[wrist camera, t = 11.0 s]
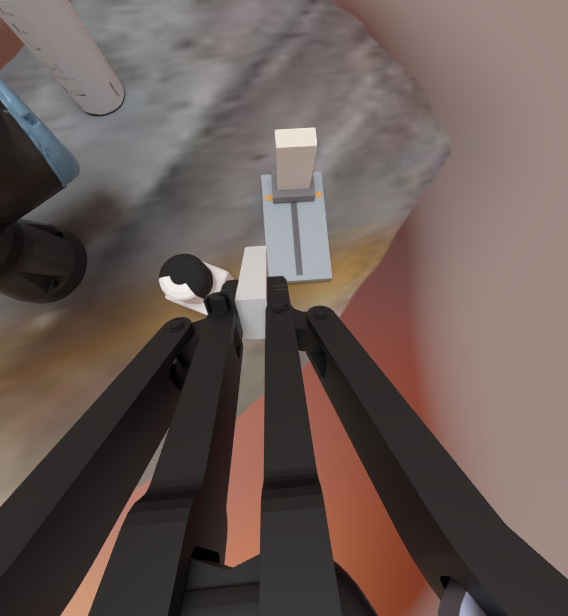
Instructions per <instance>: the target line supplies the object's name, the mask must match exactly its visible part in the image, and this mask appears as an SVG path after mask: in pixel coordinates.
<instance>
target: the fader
mask: <svg viewBox="0 0 568 616" xmlns="http://www.w3.org/2000/svg"><path fill="white" fill-rule="evenodd" d="M275 148H276V169H271V179H272V193H273V203H281V202H297V201H313V200H314V199H315V187H314V177H313V166H314V160H315V155H316V149H317V139H316V130H315V128H299V129H282V130H275Z"/></svg>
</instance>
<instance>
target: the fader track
mask: <svg viewBox="0 0 568 616" xmlns="http://www.w3.org/2000/svg"><path fill="white" fill-rule="evenodd" d="M313 177H314V187H315V199H314V200H313V201H297V202H281V203H273V193H272V179H271V175H261V180H262V196H263V211H264V227H265V243H266V250H267V260H268V270H269V277H272V276H284V277H285V279H286V280H287V284H292V283H307V282H321V281H330V280H331V279H332V272H331V263H330V253H329V243H328V234H327V224H326V215H325V205H324V195H323V186H322V176H321V172H313Z"/></svg>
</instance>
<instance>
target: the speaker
mask: <svg viewBox="0 0 568 616" xmlns="http://www.w3.org/2000/svg"><path fill="white" fill-rule="evenodd" d="M0 16H1V18H2V19H3V20H4V21H5V22H6V23H7V24H8V26H9V27H10V28H11V29H12V30H13V31H14V32H15V33H16V35H17V36H18V37H19V38H20V39H21V40H22V42H23V43H24V44H25V45H26V46H27V47H28V48H29V50H30V51H31V52H32V53H33V54H34V55H35V56H36V57H37V59H38V60H39V61H40V62H41V63H42V64H43V65H44V67H45V68H46V69H47V70H48V71H49V72H50V73H51V75H52V76H53V77H54V78H55V79H56V80H57V81H58V83H59V84H60V85H61V86H62V87H63V88H64V89H65V90H66V92H67V93H68V94H69V95H70V96H71V97H72V98H73V100H74V101H75V102H76V103H77V104H78V105H79V106H80V107H81V109H82V110H84V111H85V112H87V113H90V114H92V115H107V114H109V113H112V112H113V111H115V110H116V109H117V108H118V107H119V106H120V105H121V104H122V102H123V99H124V89H123V86H122V84H121V83H120V81H119V80H118V78H117V77H116V75H115V73H114V72H113V70H112V69H111V67H110V66H109V64H108V62H107V61H106V59H105V58H104V56H103V54H102V53H101V51H100V50H99V48H98V47H97V45H96V43H95V42H94V40H93V39H92V37H91V36H90V34H89V32H88V31H87V29H86V28H85V26H84V25H83V23H82V21H81V20H80V18H79V17H78V15H77V14H76V12H75V10H74V9H73V7H72V6H71V4H70V3H69V1H68V0H0Z"/></svg>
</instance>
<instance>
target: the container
mask: <svg viewBox="0 0 568 616" xmlns="http://www.w3.org/2000/svg"><path fill="white" fill-rule="evenodd" d="M227 280H235V279H234V278H233V277H232V276H231V275H230V274H229V272H227V271H225V270H223V269H220V268H218V267H215V266H213V265H210V264H208V263H205V262H202V261H201V260H200V259H198V258H197V257H195V256H193V255H190V254H179V255H175V256H173V257H171V258H170V259H168V260H167V261H166V262H165V263H164V265H163V266H162V268H161V270H160V274H159V283H160V286H161V289H162V290H163V292H164V293H165V294H166V296H165V298H166V299H167V300H170V301H172V302H175V303H177V304H180V305H182V306H185V307H187V308H190V309H192V310H195V311H197V312H200V313H202V314H205V315H208V313H207V310H206V308H205V305H204V302H203V300H204V299H205V297H207V296H208V295H210V294H212V293H216V292H220V291H221V288H222V285H223V284H224V283H225V282H226V281H227Z"/></svg>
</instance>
